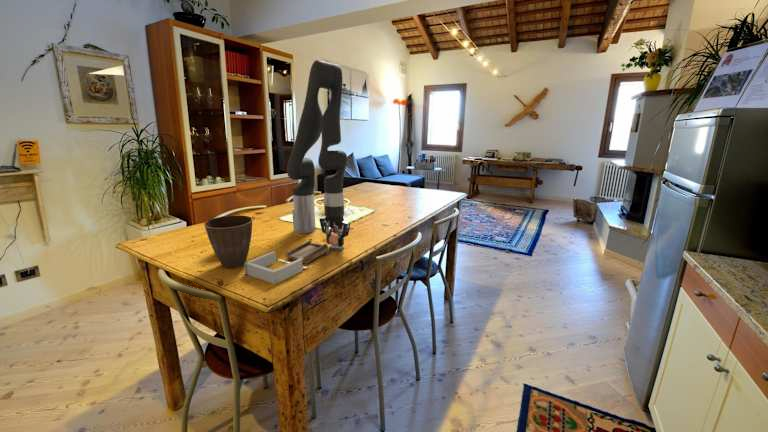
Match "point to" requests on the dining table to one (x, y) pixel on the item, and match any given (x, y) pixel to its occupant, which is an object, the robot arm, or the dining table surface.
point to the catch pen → (273, 276)
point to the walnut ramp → (307, 251)
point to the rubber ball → (333, 239)
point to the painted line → (289, 262)
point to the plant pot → (230, 239)
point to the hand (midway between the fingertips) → (335, 244)
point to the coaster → (336, 248)
